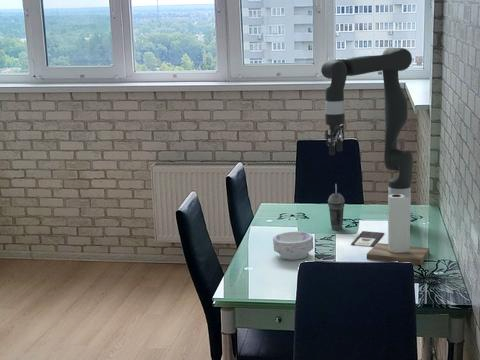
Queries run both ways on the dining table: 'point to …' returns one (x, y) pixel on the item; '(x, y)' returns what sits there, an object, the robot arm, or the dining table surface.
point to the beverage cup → (336, 210)
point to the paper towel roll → (398, 223)
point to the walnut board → (398, 254)
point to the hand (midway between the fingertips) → (335, 153)
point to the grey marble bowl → (293, 244)
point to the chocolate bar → (367, 239)
